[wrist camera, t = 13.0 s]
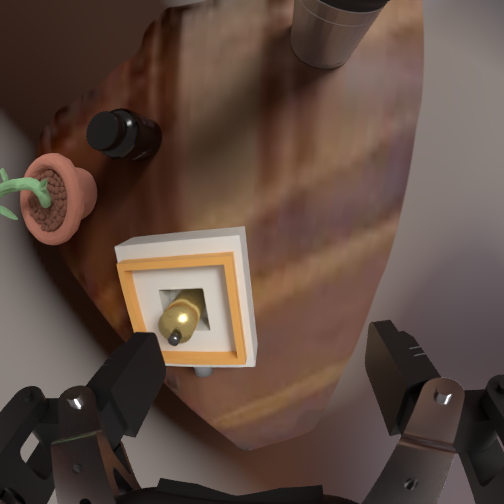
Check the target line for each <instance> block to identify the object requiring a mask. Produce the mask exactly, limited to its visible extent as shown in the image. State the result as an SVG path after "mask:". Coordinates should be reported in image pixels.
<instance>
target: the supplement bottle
mask: <svg viewBox="0 0 504 504" xmlns="http://www.w3.org/2000/svg"><path fill="white" fill-rule="evenodd" d="M86 134H87V136H86V137H87V141H88V144H89V145H90V146H91V147H92V148H94V149H95V150H98V151H99V152H100V153H101V154H102V155H103V156H104V157H106V158H108V159H113V160H131V161H142V160H146V159H148V158H150V157H152V156H153V155H154V154H155V153H156V152H157V150H158V149H159V147H160V144H161V140H162V133H161V129H160V127H159V125H158V124H157V123H156V122H155V121H154V120H152V119H150V118H148V117H146V116H143V115H141V114H138V113H136V112H133V111H131V110H128V109H124V108H119V109H115V110H112V111H110V112H108V111H105V112H104V111H103V112H100V113H99V114H97V115H96V116H94V117H93V118H92V119H91V121H90V122H89V125H88V128H87V132H86Z"/></svg>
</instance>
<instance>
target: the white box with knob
mask: <svg viewBox="0 0 504 504" xmlns="http://www.w3.org/2000/svg"><path fill="white" fill-rule="evenodd" d="M115 251H116V256H117V261H118V263H117V264H116V265H117V270H118V274H119V278H120V282H121V286H122V290H123V294H124V298H125V302H126V306H127V309H128V313H129V317H130V320H131V323H132V327H133V330H134V333H135V332H154V333H155V334H156V336H157V338H158V342H159V345H160V348H161V352H162V355H163V358H164V362H165V365H166V366H187V367H194V369H195V373H196V375H197V376H199V377H207V376H209V375H211V374H212V373H213V368H212V367H255V363H256V354H257V336H256V327H255V318H254V309H253V300H252V290H251V281H250V272H249V262H248V253H247V244H246V234H245V226H242V227H230V228H219V229H209V230H198V231H188V232H178V233H168V234H159V235H149V236H140V237H133V238H131V239H129V240H127V241H125V242H123V243H121V244H119V245H117V246H115ZM193 288H202V289H203V291H204V297H205V303H206V308H205V310H204V312H203V314H202V316H201V318H200V320H199V322H198V325H197V327H196V329H195V331H194V333H193V335H192V337H191V338H190V340H189V341H187V342H185V343H181V344H178V345H177V346H172V345H170V344H169V343H168V340H167V339H166V338H164V337H163V335H162V334H161V333H160V331H159V327H158V322H159V319H160V317H161V316H162V315H163V313H164V312H165V311H166V309H167V308H168V307H169V305H170V304H171V303H172V301H173V300H174V299H175V297H176V296H177V295H178V293H179V292H180V291H181V289H193Z"/></svg>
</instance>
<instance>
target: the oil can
mask: <svg viewBox="0 0 504 504" xmlns="http://www.w3.org/2000/svg"><path fill="white" fill-rule="evenodd" d="M205 308H206V303H205V297H204V291H203V289H202V288H193V289H181V291H180V292H179V293H178V295H177V296H176V297H175V299H174V300H173V301H172V303H171V304H170V305H169V307H168V308H167V309H166V311H165V312H164V313H163V315H162V316H161V317H160V319H159V322H158V327H159V331H160V333H161V334H162V335H163V337H164V338H166V339H167V340H168V343H169V344H170V345H172V346H177V345H178V344H181V343H185V342H187V341H189V340H190V338H191V337H192V335H193V333H194V331H195V329H196V327H197V325H198V322H199V320H200V318H201V316H202V314H203V312H204V310H205Z"/></svg>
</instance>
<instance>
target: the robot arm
mask: <svg viewBox="0 0 504 504" xmlns="http://www.w3.org/2000/svg"><path fill="white" fill-rule="evenodd" d="M388 1H390V0H295V1H294V11H293V20H292V29H291V39H290V42H291V47H292V49H293V51H294V53H295V54H296V56H297V57H298V58H299V59H300V60H302V61H303V62H305V63H306V64H308V65H310V66H313V67H316V68H320V69H333V68H336V67H339V66H341V65H343V64H344V63H345V62H346V61H347V60H348V59H349V57H350V56H351V54H352V53H353V51H354V50H355V49H356V47H357V46H358V44H359V43H360V41H361V40H362V38H363V37H364V35H365V34H366V32H367V31H368V30H369V28H370V27H371V25H372V24H373V22H374V21H375V19H376V18H377V16H378V15H379V13H380V12H381V10H382V9H383V8H384V6H385V5H386V3H387V2H388ZM365 367H366V372H367V375H368V377H369V380H370V383H371V385H372V388H373V390H374V393H375V396H376V399H377V401H378V404H379V407H380V410H381V413H382V415H383V418H384V421H385V424H386V427H387V430H388V432H389V435H390V436H393V435H396V434H401V437H400V439H399V441H398V443H397V445H396V447H395V449H394V451H393V453H392V455H391V457H390V458H389V460H388V462H387V464H386V465H385V467H384V469H383V471H382V472H381V474H380V476H379V477H378V479H377V481H376V482H375V484H374V486H373V487H372V489H371V491H370V492H369V494H368V495H367V496H366V498H365V499H364V501H363V502H362V504H437V501H438V499H439V497H440V494H441V492H442V490H443V487H444V484H445V481H446V479H447V476H448V473H449V471H450V468H451V465H452V462H453V459H454V455H455V453H458V454H459V456H460V459H461V462H462V464H463V467H464V470H465V473H466V475H467V478H468V481H469V484H470V487H471V490H472V493H473V496H474V500H475V503H476V504H504V452H503V450H502V448H501V446H500V444H499V442H498V440H497V437H498V436H499V438H500V439H501V441H502V444H503V446H504V375H497V376H494V377H492V378H491V379H490V380H489V381H488V383H487V386H486V388H485V389H482V390H464V389H463V387H462V386H461V385H460V384H459V383H458V382H456V381H455V380H452V379H449V378H442V377H441V376H440V375H439V373H438V372H437V370H436V369H435V367H434V366H433V364H432V363H431V362H430V360H429V359H428V357H427V355H426V354H424V351H423V350H422V348H421V347H420V345H419V344H418V343H417V341H416V340H415V339H414V337H412V336H411V335H409V334H408V333H406V332H405V331H401V332H398V330H397V329H396V327H395V326H394V324H393V323H392V322H391V320H385V321H377V322H371V323H370V324H369V329H368V338H367V346H366V354H365ZM165 376H166V365H165V362H164V358H163V355H162V352H161V348H160V345H159V342H158V338H157V336H156V334H155V333H154V332H135V333H134V334H133V335H132V336H131V338H130V339H129V340H128V341H127V343H124V344H123V345H121V346H120V347H118V348H117V349H115V350H114V351H113V353H112V354H111V355H110V356H109V359H107V360H106V361H105V362H104V365H102V366H101V367H100V369H99V370H98V371H97V372H96V374H95V375H94V376H93V377H92V379H91V380H90V381H89V382H88V384H87V385H86V386H82V385H81V386H74V387H71V388H69V389H67V390H65V391H64V392H63V393H62V394H61V395H60V397H59V398H45V396H44V394H43V393H42V391H41V389H40V388H38V387H36V386H29V387H25V388H23V389H21V390H20V391H18V392H17V393H16V394H15V395H14V397H13V398H12V399H11V400H10V401H9V402H8V404H7V405H6V406H5V407H4V408H3V409H2V411H1V412H0V504H47V503H48V501H49V499H50V497H51V495H52V492H53V491H54V489H55V490H56V496H57V502H58V504H359V503H357V502H354V501H352V500H349V499H346V498H342V497H339V496H333V495H325V494H323V488H322V485H318V486H306V487H292V488H291V487H290V488H278V489H273V490H268V491H263V492H259V493H253V494H247V495H240V496H235V495H230V494H227V493H224V492H220V491H217V490H214V489H211V488H207V487H204V486H202V485H199V484H194V483H186V482H181V481H174V480H169V479H164V478H160V480H159V483H158V486H157V487H150V488H143V489H142V488H141V487H140V485H139V483H138V481H137V479H136V477H135V474H134V472H133V470H132V467H131V464H130V462H129V459H128V456H127V453H126V450H125V448H124V445H123V443H122V441H121V438H122V437H123V435H126V436H131V437H136V435H137V433H138V431H139V429H140V427H141V425H142V423H143V421H144V419H145V417H146V415H147V413H148V411H149V409H150V407H151V405H152V403H153V401H154V399H155V397H156V395H157V393H158V391H159V389H160V387H161V385H162V383H163V381H164V379H165ZM31 432H32V433H33V434H34V435H35V437H36V438H37V439H38V440H39V444H38V445H37V447H36V448H35V450H34V451H33V453H32V454H31V456H30V457H29V459H28V461H27V462H26V463H25V462H24V461H23V460H22V458H21V455H20V450H21V447H22V445H23V444H24V442H25V441H26V440H27V438H28V437H29V435H30V434H31Z"/></svg>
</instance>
